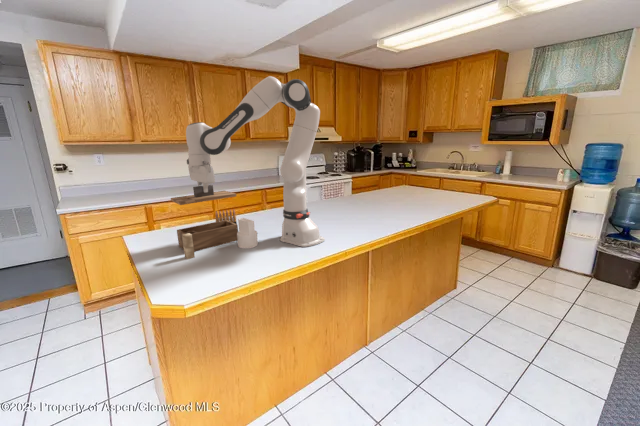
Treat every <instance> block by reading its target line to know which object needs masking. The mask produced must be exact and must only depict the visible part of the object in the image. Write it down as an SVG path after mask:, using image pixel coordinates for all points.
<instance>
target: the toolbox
mask: <svg viewBox="0 0 640 426" xmlns="http://www.w3.org/2000/svg"><path fill="white" fill-rule="evenodd" d="M222 220H223V219H222ZM238 232H239V224H238V223H237V224H235V223H233V222H230V220H229V221H228V220H223V221H218V222H216V221H214V222H209V223H204V224H199V225H193V226H189V227H185V228H179V229H176V234H177V235H176V236H177V241H178V247H179V248H181V250H183V251H184V247H183V240H182V235H183V234H187V233H190V234H192V240H193V247H194V253H195V252H199V251H203V250H206V249H210V248H214V247H218V246H222V245H225V244H230V243H234V242H238V241H237V233H238Z"/></svg>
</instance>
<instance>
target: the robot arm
mask: <svg viewBox="0 0 640 426" xmlns="http://www.w3.org/2000/svg"><path fill="white" fill-rule="evenodd" d="M278 103H282V104H283V105H285V106H286V107H288V108H291V109H294V112H295V118H294V122H293V125H292V129H291V133H290V136H289V141H288V144H287V147H286V149H285V152H284V155H283V158H282V159H283V160H282V162H281V165H280V171H279V172H280V175H281V177H282V179H283V193H282V194H283V195H282V196H283V199H282V200H283V210H282V214H283V215H282V216H283V222H282V226H281V237H280V240H279V241H280V242H283V243H287V244H291V245H295V246H299V247H302V248H305V247H312V246H315V245H319V244H321V243H323V242H324V241H326V239H325V237H324V236H321V235H320V234H321V233H320V229H319V226H318V224H316V223H315V222H314V221H313V220H312V219H311V217H310V215H311V212H310V211H309V209H308V207H307V203H308V202H307V167H308V163H309V159H310V157H311V152H312V150H313V146H314V143H315V139H316V136H317V132H318V129H319V124H320V118H321V109H320V108H319V107H318V106H317V105H316V104H315V103H313V102H312V100H311V94H310V90H309V87H308V84H306V82H304V81H303V80H301V79H298V78H297V79H296V78H294V79H290V80H289V81H288V82H286V83H282V82H281V81H280V80H279V79H278V78H276V77H275V76H271V75H269V76H267V77H265V78H263V79H262V80H260V81H259V82H258V83H257V84H255V85H254V86H253V87H252V88H251V89H250V90H249V91H248V93H246V95H244V96H243V99H242V100H241V101H240V103H239V104H238V105H237V106H236V107H235V109H234V110H233V111H232V112H231V113H230V114H229V115H227V117H225V118H224V119H223V120H222V121H221V122H220V123H219V124H218V125H217V126H215V127H212V126H209V125H208V124H206V123H205V122H203V121H202V122H201V121H200V122H199V121H198V122H193V123H190V124H188V125H187V126H186V129H185V138H186V145H187V148H188V152H187V153H188V157H187V159H186V164H187V166H188V172H189V173H188V174H189V178H190V180H192V181H194V182H196V183H197V186H203V192H208V185H212V184H215V182H216V179H215V178H216V176H215V171H214V169H213V166H212V161H211V155H213V156H214V155H215V156H216V155H219V154H221V153H225V152H226V151H228V150H229V149H230V147H231V145H232V140H231V137H232V136H233V135H234V134H235V133H236V132H237V131H238V130H239V129H240V128H242V127H243V126H244V125H246V124H247V123H249V122H253V121H256V120H259V119H261V118H262V117H263V116H265V115H266V114H267V113H269V111H270V110H272V108H273V107H274V106H276V105H277V104H278Z"/></svg>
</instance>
